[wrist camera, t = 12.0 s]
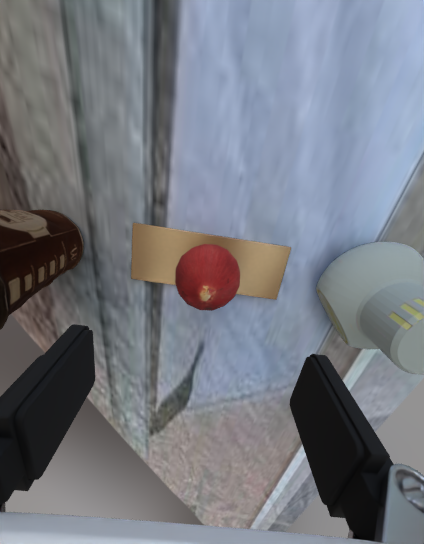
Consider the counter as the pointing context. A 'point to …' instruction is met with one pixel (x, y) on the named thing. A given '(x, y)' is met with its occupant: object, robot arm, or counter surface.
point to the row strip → (174, 243)
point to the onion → (207, 277)
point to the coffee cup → (33, 254)
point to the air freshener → (378, 301)
